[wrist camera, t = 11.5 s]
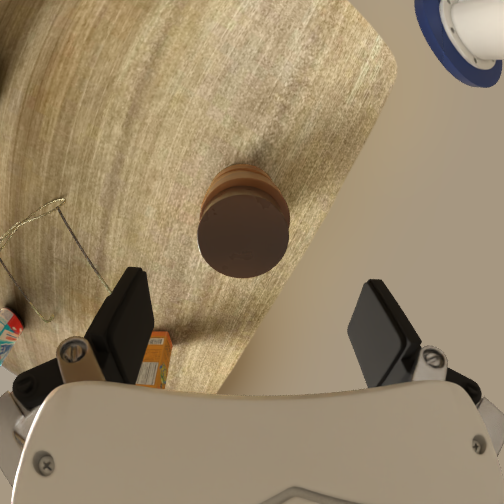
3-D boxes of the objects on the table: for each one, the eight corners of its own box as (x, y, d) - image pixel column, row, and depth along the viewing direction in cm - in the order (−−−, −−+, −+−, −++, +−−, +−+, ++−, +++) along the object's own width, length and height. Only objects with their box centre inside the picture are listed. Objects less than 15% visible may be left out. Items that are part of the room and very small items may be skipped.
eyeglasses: (67, 186, 24) (42, 200, 20) (126, 294, 31) (112, 320, 26) (4, 235, 26) (-16, 251, 21) (54, 316, 33) (40, 338, 28)
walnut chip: (202, 183, 18) (197, 192, 16) (288, 188, 19) (294, 198, 16) (201, 259, 21) (197, 276, 19) (278, 263, 21) (282, 280, 19)
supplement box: (175, 346, 35) (163, 406, 26) (152, 346, 35) (137, 403, 26) (170, 329, 34) (155, 391, 25) (146, 329, 34) (127, 388, 25)
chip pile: (208, 160, 24) (196, 175, 18) (280, 164, 25) (295, 181, 18) (206, 228, 27) (196, 263, 21) (273, 231, 28) (283, 267, 22)
